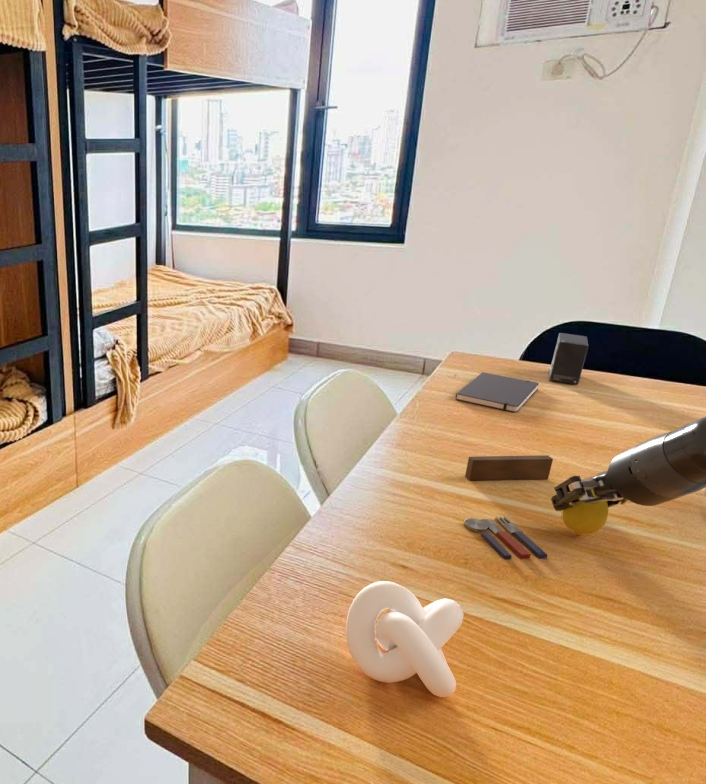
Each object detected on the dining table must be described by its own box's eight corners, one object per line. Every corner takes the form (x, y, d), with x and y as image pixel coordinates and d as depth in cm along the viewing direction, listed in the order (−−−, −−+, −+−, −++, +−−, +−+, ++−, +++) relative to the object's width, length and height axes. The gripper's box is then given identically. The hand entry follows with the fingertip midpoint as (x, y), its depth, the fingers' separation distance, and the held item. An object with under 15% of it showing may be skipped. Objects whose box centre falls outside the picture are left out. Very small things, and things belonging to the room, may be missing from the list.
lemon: (606, 547, 90) (620, 498, 88) (561, 541, 92) (573, 492, 90) (593, 528, 95) (606, 481, 93) (551, 522, 97) (562, 476, 94)
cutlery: (549, 558, 88) (550, 554, 88) (496, 559, 88) (497, 555, 88) (505, 519, 98) (506, 515, 98) (458, 519, 98) (458, 515, 98)
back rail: (542, 475, 111) (547, 455, 110) (548, 479, 110) (553, 458, 109) (464, 476, 111) (468, 456, 110) (469, 480, 110) (473, 460, 109)
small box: (579, 385, 155) (590, 345, 152) (548, 381, 159) (557, 341, 155) (578, 374, 163) (588, 335, 160) (548, 370, 167) (557, 332, 163)
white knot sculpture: (491, 713, 64) (508, 642, 61) (377, 721, 63) (389, 651, 60) (430, 634, 74) (443, 571, 71) (332, 641, 73) (341, 577, 70)
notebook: (481, 377, 162) (455, 399, 147) (482, 371, 161) (456, 393, 147) (538, 388, 154) (516, 413, 139) (539, 382, 153) (517, 406, 138)
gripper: (707, 439, 81) (613, 478, 96) (597, 441, 80) (520, 480, 96) (733, 495, 77) (631, 527, 93) (618, 498, 77) (535, 529, 92)
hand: (575, 503), depth 94 cm, fingers closed on lemon, 5 cm apart
